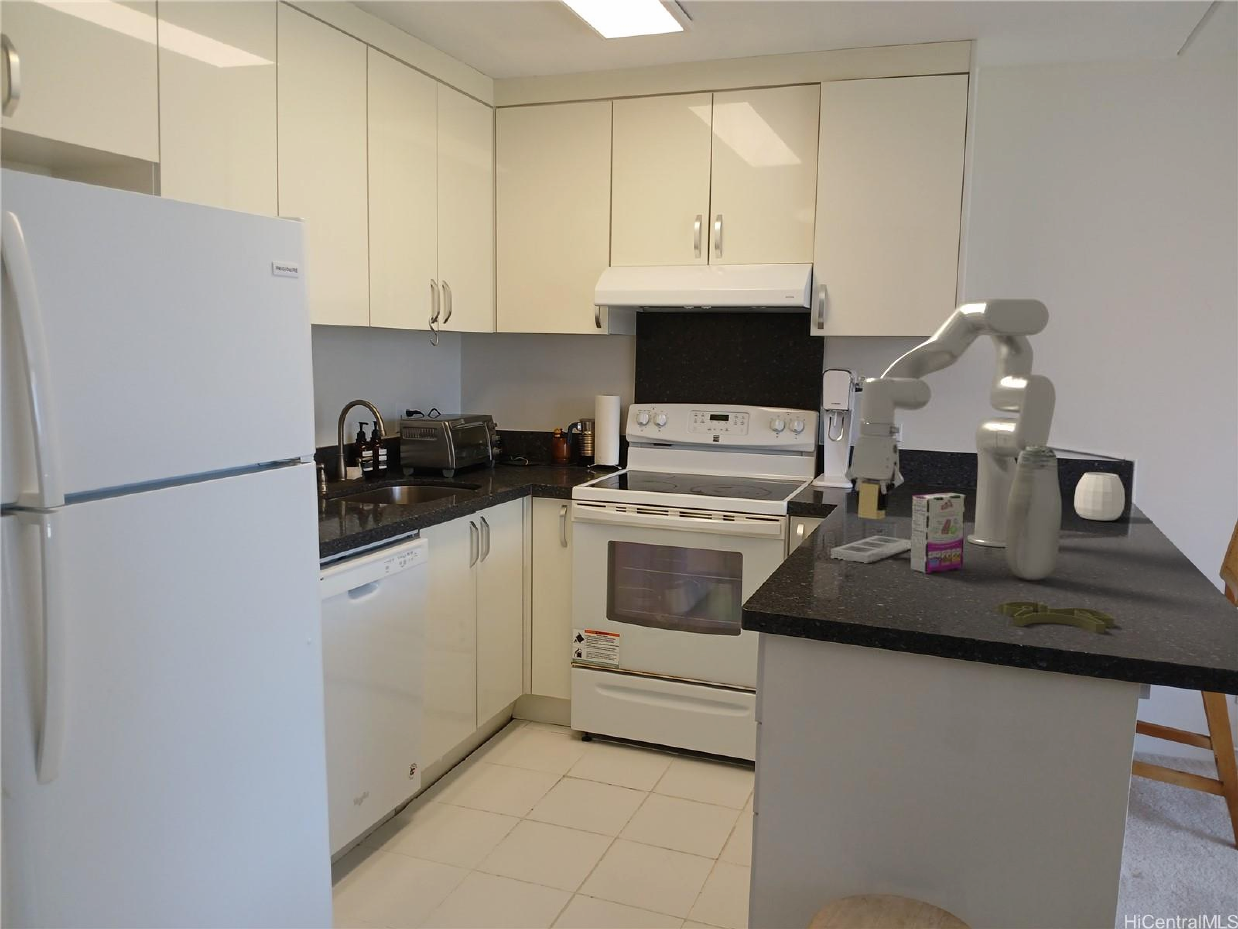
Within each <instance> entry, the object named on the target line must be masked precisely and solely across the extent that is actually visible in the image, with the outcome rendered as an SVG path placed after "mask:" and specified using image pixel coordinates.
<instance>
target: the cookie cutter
mask: <svg viewBox="0 0 1238 929" xmlns="http://www.w3.org/2000/svg"><path fill="white" fill-rule="evenodd" d="M996 603H997V605H996V612H997V613H998V612H999V614H1002V613H1004V614H1005V615H1004V614H1003V615H1004V616H1008V617H1013V616H1014V617H1013V621H1012V622H1013V623H1012V625H1013V626H1016V627H1022V626H1023V627H1025V626H1028V625H1030V624H1036V623H1039V624H1040V623H1052V624H1060V625H1061V624H1062V625H1069V626H1073V627H1077V628H1082V629H1085V630H1088V631H1089V632H1092V633H1095V634H1105V629H1106V628H1112V629H1113V628H1114V624H1115V623H1114V620H1115V618H1114V617H1113V616H1112V615H1110V614H1108V613H1106V612H1104V611H1100V610H1095V609H1091V608H1090V609H1089V608H1084V607H1063V608H1061V607H1060V608H1051V607H1050V605H1045V604H1042V603H1041V602H1037V601H1026V600H1024V601H1023V600H1021V601H1019V600H1017V601H1015V600H1013V601H1007V602H996ZM1033 612H1035V613H1033Z"/></svg>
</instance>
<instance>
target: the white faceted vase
mask: <svg viewBox="0 0 1238 929" xmlns="http://www.w3.org/2000/svg"><path fill="white" fill-rule="evenodd" d="M1125 497H1126V496H1125V487H1124V485H1123V482H1122V481H1121V478H1120V477H1119V474H1114V473H1107V472H1094V471H1093V472H1085V473H1084V474H1083V475H1082V477H1081V478H1080V480H1079V481H1078V483H1077V485H1076V487H1075V493H1074V501H1073V502H1074V503H1073V506H1074V509H1075V512H1076V514H1078V516H1079V517H1080V518H1083V519H1086V520H1089V521H1097V522H1107V521H1115V520H1117V519H1118V518H1119V517H1120V516H1121V515H1122V513H1123V511H1124V509H1125V501H1126V498H1125Z"/></svg>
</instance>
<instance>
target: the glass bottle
mask: <svg viewBox="0 0 1238 929" xmlns="http://www.w3.org/2000/svg"><path fill="white" fill-rule="evenodd" d="M1016 464H1017V468H1016V473H1015V478H1014V481H1013V484H1012V487H1011V490H1010V494H1009V498H1008V503H1007V517H1006V543H1005V547H1004V548H1005V550H1004V553H1005V561H1006V564H1007V567H1008V569H1009V570H1010V572H1011V573H1012V574H1013V575H1014V576H1016V577H1018V578H1020V579H1023V580H1027V581H1038V580H1042V579H1045V578H1047V577H1048V576H1050V574H1052V573H1053V571H1054V570H1055V568H1056V565H1057V562H1058V558H1059V549H1060V548H1059V547H1060V546H1059V545H1060V533H1061V524H1062V508H1063V506H1062V505H1063V504H1062V496H1061V490H1060V489H1061V488H1060V484H1059V477H1058V474H1059V473H1058V457H1057V455H1056V452H1055V451H1054V450H1053V449H1052V448H1051V447H1049V446H1047V445H1046V446H1043V445H1031V446H1028V447H1026V448H1024V449H1023V450H1022V451H1021V453H1020V454H1019V457H1018V458H1017V461H1016Z"/></svg>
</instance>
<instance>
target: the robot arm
mask: <svg viewBox="0 0 1238 929" xmlns="http://www.w3.org/2000/svg"><path fill="white" fill-rule="evenodd" d="M1049 318H1050V314H1049V310H1048V307H1047V306H1046V305H1045V304H1044V303H1043V301H1040V300H1039V299H1035V298H1034V299H1033V298H1030V299H1029V298H1025V299H1024V298H1023V299H1022V298H1021V299H1020V298H1011V299H1010V298H984V299H983V298H982V299H971V300H966V301H963V302H961V303H960V304H958V305H957V306H956V307H955V308H954V309H953V310H952V312H951V313H950V314H949V315H947V317H946V318H945V319H944V320H943V322H942V323H941V324H940V325H939V327H938V328H937V329H936V330H935V331H934V332H933V333H932V334H931V336H930V337H929V338H928V339H927V340H926V341H925V342H922V343H921V344H919V345H918V346H916V347H914V348H913V349H912V350H909V351H908V352H907V353H906V354H905V353H904V355H902V356H901V357H899V358H898V359H897V360H895V361H894V362H893V363H891V365H890V366H889V367H888V368H887V369H886V370H885V372H884V373H883V374H882V375H881V377H867V378H866V379H864V380H863V383H862V389H861V390H862V394H861V407H860V408H861V409H860V410H861V411H860V426H859V435H857V436H856V439H855V443H854V446H853V452H852V458H851V466H850V467H849V468H848V469H847V471H846V472H845V473H844V477H845V479H847V480H848V481H849V482H850V483H851V485H852V486H853V487H854V490H855V491H856V504H857V509H859V493H860V483H863V482H867V481H868V480H870V481H879V482H880V486H881V493H880V494H879V506H878V510H879V511H883V510H885V511H886V510H887V508H888V506H889V500H890V499H889V496H890V493H892V491H893V490H894V489H896V488H897V487H898V486H900V485H901V484H903V483H904V482H905V479H904V477H903V476H902V474H901V472H900V461H899V460H900V457H899V455H900V454H899V446H898V445H899V444H898V438H897V437H894V436H895V434H899V433H900V428H899V427H896V424H895V417H896V416H895V415H896V410H901V411H917V410H920V409H923V408H925V407H926V406H927V405H928V404H929V402H930V400H931V397H932V391H931V389H930V388H931V387H930V386H929V385H928V383H926V381H924V380H923V379H921V378H922V377H924V376H926V375H929V374H932V373H937V372H939V371H941V370H945V369H947V368H949V367H951V366H953V365H955V364H957V363H958V362H959V360H960V358H961V357H962V356H963V355H964V353H965V352H966V351H967V350H968V349H969V348H970V347H971V346H972V345H973V343H974V342H975V341H976V340H977V339H978V338H979V337H980V336H981V337H982V336H989V338H990V339H991V341H992V343H993V345H994V347H995V348H994V349H995V357H996V358H995V364H994V368H993V375H992V379H991V384H990V385H991V386H990V390H989V404H990V405H991V407H992V409H994V410H996V411H999V412H1002V413H1003V412H1004V413H1014V414H1015V413H1016V414H1019V416H1018V418H1015V417H1006V416H1005V417H1004V416H995V417H994V416H993V417H989V418H986V419H984V420H983V421H982V422H980V423H979V425H978V426H977V428H976V430H975V447H976V453H977V481H976V482H977V484H976V497H975V498H976V499H975V501H976V503H975V516H974V518H975V520H974V533H973V534H970V535H969V534H968V535H967V541H968V542H969V543H972V544H975V545H980V546H987V547H995V548H996V547H997V548H1005V543H1006V517H1007V503H1008V498H1009V494H1010V490H1011V487H1012V484H1013V481H1014V478H1015V473H1016V468H1017V461H1016V459H1018V457H1019V454H1020V453H1021V451H1022V450H1023V449H1024V448H1026V447H1028V446H1031V445H1043V446H1047V444H1048V441H1049V437H1050V431H1051V426H1052V422H1053V418H1054V417H1053V416H1054V413H1055V407H1056V406H1055V405H1056V399H1057V398H1056V397H1057V396H1056V388H1055V386H1054V383H1053V382H1052V381H1051V380H1050V379H1049V377H1047V376H1045V375H1041V374H1032V370H1033V363H1034V351H1033V347H1032V345H1031V342H1030V340H1029V339H1028V337H1027V336H1035V335H1038V334H1039V333H1041V332H1042V331H1044V330H1045V328H1046V327H1047V325H1048V323H1049ZM1015 458H1016V459H1015ZM892 480H893V481H892ZM891 481H892V482H891Z"/></svg>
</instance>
